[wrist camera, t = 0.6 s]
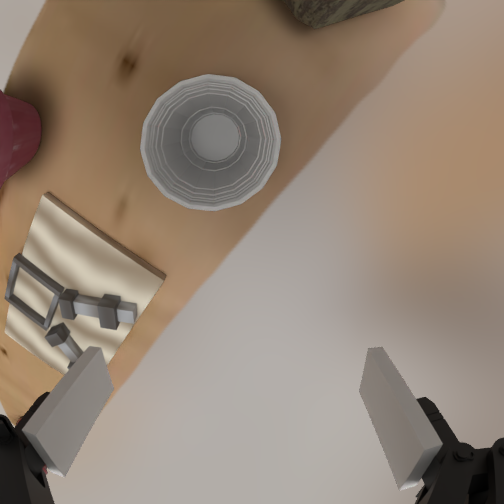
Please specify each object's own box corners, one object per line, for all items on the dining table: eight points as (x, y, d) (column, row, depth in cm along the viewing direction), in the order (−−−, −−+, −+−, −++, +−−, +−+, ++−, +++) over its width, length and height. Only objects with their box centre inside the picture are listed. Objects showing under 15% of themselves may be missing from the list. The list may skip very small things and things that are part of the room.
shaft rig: (45, 190, 32) (27, 198, 28) (166, 275, 39) (159, 293, 35) (6, 326, 41) (-5, 340, 37) (93, 385, 47) (86, 402, 43)
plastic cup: (280, 159, 34) (304, 177, 23) (195, 198, 35) (180, 234, 24) (240, 75, 29) (246, 50, 18) (153, 117, 31) (117, 116, 20)
